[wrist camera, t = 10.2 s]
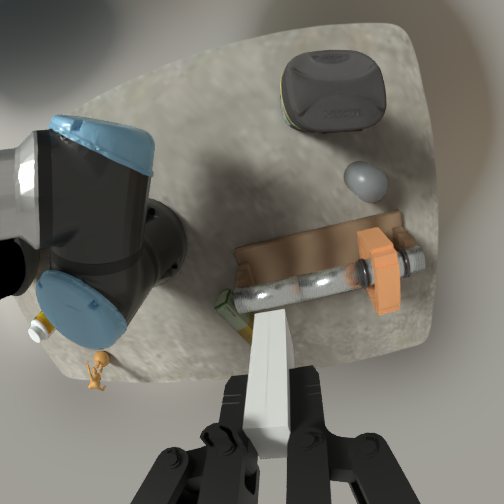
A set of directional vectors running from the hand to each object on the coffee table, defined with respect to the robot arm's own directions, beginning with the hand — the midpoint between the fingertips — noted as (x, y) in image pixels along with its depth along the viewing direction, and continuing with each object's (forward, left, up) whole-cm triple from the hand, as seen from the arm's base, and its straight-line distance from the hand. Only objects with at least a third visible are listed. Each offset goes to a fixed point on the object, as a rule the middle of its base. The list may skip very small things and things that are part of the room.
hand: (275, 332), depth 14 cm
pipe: (+5, -12, -24) cm, 27 cm away
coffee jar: (+9, +11, -31) cm, 34 cm away
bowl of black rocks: (-53, +8, -31) cm, 62 cm away
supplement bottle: (-57, -12, -31) cm, 66 cm away
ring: (+11, -12, -27) cm, 32 cm away
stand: (+5, -12, -31) cm, 33 cm away
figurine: (-48, -26, -31) cm, 63 cm away
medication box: (-11, -20, -31) cm, 39 cm away
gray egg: (+13, -1, -31) cm, 33 cm away
